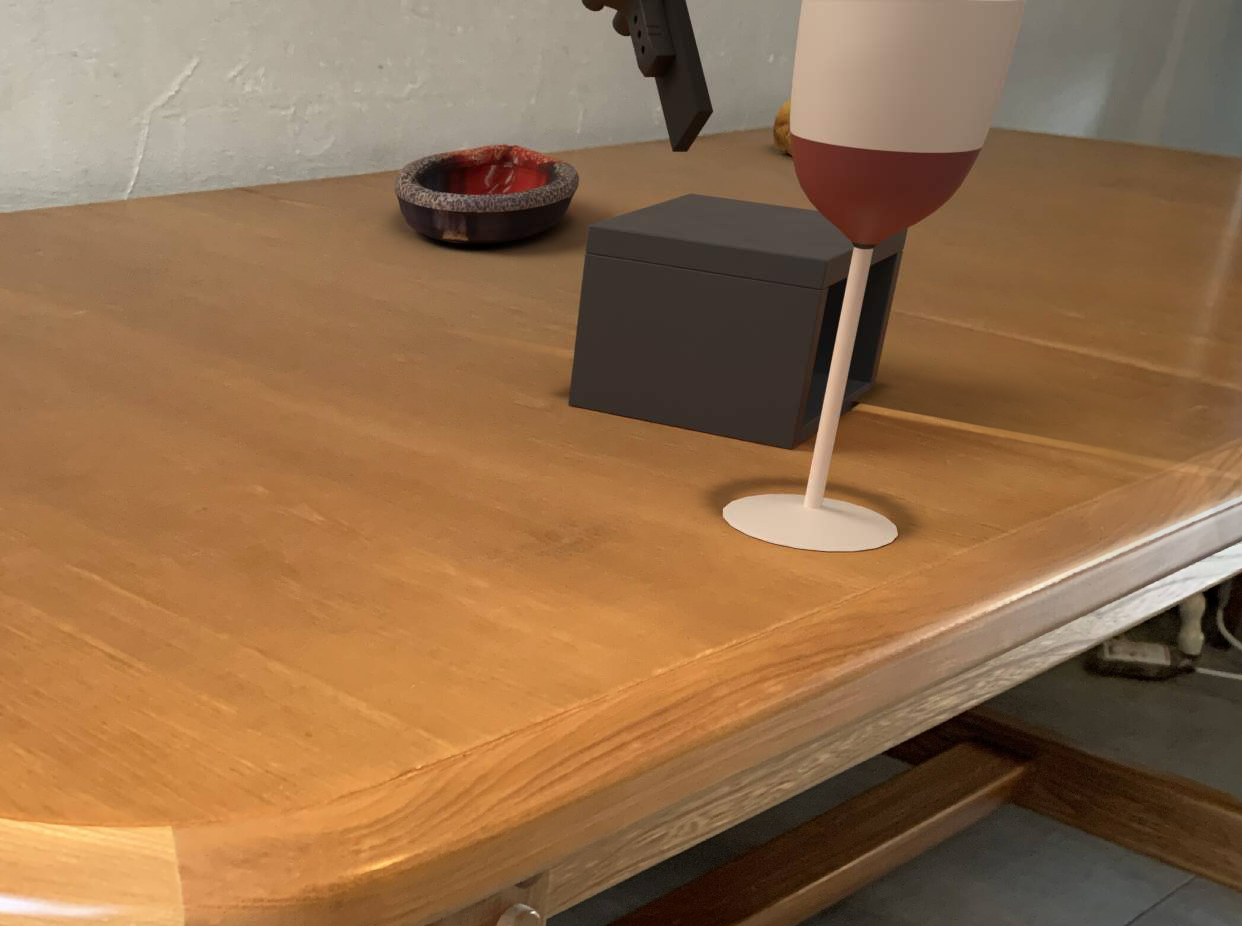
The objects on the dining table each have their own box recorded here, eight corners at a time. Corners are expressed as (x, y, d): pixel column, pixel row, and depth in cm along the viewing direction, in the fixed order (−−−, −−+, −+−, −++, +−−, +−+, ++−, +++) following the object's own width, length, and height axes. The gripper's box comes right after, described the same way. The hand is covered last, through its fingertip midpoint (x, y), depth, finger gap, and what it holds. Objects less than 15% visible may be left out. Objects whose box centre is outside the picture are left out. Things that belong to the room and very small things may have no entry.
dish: (355, 245, 138) (357, 179, 136) (441, 189, 163) (444, 132, 160) (539, 263, 135) (546, 196, 132) (599, 204, 160) (605, 146, 157)
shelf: (873, 395, 105) (909, 223, 100) (791, 450, 94) (827, 260, 89) (666, 357, 111) (689, 193, 106) (567, 405, 100) (587, 224, 95)
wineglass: (701, 537, 81) (789, -11, 69) (734, 480, 89) (820, -21, 76) (893, 567, 79) (1023, 5, 66) (911, 506, 87) (1029, -8, 74)
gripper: (899, -175, 89) (998, 183, 86) (460, -201, 82) (549, 186, 79) (984, -306, 82) (1096, 78, 78) (512, -347, 75) (612, 72, 72)
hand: (822, 133), depth 79 cm, fingers open, 13 cm apart
